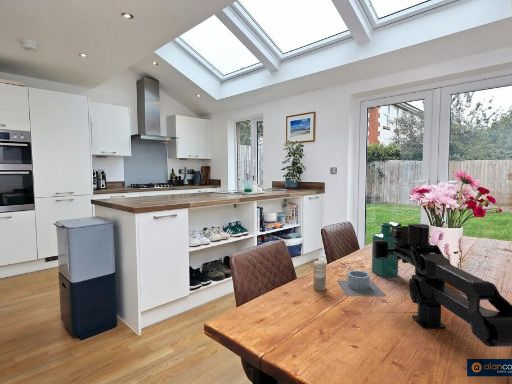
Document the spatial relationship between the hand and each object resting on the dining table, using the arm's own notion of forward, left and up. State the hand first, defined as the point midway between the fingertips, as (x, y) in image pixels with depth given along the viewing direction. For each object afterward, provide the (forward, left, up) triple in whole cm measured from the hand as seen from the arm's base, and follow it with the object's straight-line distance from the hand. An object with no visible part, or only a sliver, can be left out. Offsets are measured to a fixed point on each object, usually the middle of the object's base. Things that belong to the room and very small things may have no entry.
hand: (390, 244), depth 109 cm
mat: (-1, +11, -17) cm, 20 cm away
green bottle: (+15, -5, -17) cm, 23 cm away
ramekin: (+1, +11, -16) cm, 20 cm away
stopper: (-1, +26, -17) cm, 31 cm away
